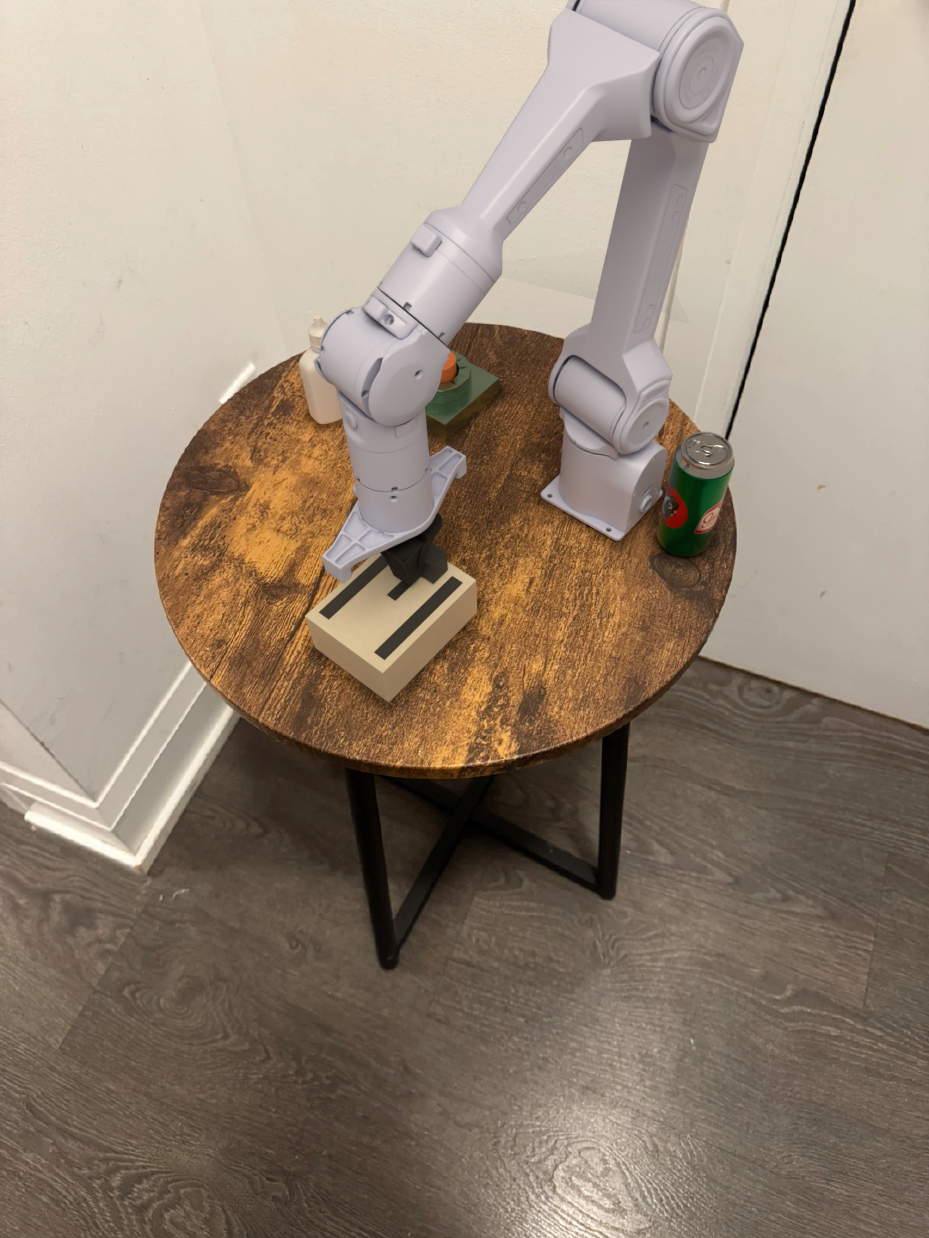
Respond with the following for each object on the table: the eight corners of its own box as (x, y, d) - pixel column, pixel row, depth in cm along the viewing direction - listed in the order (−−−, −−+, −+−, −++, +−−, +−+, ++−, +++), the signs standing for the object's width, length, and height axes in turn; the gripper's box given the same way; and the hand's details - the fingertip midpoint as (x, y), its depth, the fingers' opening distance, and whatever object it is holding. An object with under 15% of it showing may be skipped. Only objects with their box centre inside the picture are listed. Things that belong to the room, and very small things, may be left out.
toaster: (481, 608, 81) (480, 575, 77) (388, 703, 76) (382, 672, 72) (407, 560, 85) (403, 526, 81) (314, 647, 79) (304, 615, 75)
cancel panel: (499, 393, 97) (499, 364, 94) (446, 440, 94) (444, 411, 90) (436, 360, 101) (434, 331, 97) (383, 403, 97) (379, 374, 94)
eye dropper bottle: (308, 400, 98) (287, 307, 88) (359, 393, 98) (344, 299, 88) (311, 427, 95) (289, 335, 85) (363, 420, 96) (348, 327, 86)
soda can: (697, 568, 83) (724, 479, 73) (647, 547, 85) (667, 458, 75) (717, 531, 86) (746, 440, 76) (667, 512, 87) (690, 420, 77)
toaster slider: (448, 569, 77) (447, 551, 75) (433, 584, 77) (431, 566, 74) (413, 547, 79) (411, 529, 77) (398, 561, 78) (396, 543, 76)
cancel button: (463, 370, 94) (463, 357, 93) (441, 388, 93) (440, 375, 91) (437, 356, 96) (436, 343, 94) (415, 374, 94) (414, 361, 93)
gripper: (415, 387, 69) (426, 503, 81) (280, 496, 63) (313, 606, 75) (485, 426, 67) (487, 540, 78) (352, 544, 61) (375, 650, 72)
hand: (406, 575), depth 76 cm, fingers closed
